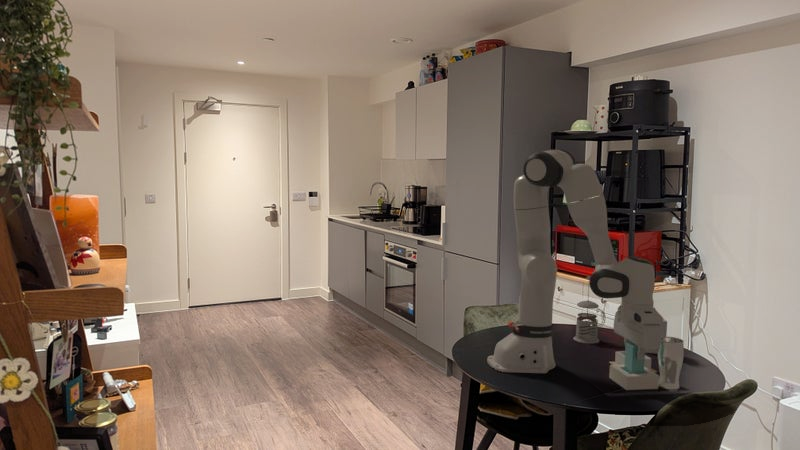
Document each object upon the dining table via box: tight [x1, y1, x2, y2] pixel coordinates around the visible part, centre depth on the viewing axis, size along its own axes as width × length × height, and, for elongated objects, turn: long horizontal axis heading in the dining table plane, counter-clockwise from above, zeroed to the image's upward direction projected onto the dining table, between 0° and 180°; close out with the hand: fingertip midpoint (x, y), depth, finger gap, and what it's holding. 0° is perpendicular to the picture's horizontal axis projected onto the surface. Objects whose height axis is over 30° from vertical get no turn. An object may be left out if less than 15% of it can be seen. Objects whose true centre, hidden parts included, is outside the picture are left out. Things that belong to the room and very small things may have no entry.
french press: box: [573, 276, 606, 344], centre depth 215 cm, size 10×12×25 cm
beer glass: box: [657, 336, 685, 393], centre depth 167 cm, size 7×7×15 cm
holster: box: [608, 350, 658, 373], centre depth 184 cm, size 11×11×5 cm
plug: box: [624, 342, 646, 374], centre depth 168 cm, size 4×4×10 cm
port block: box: [608, 364, 660, 394], centre depth 169 cm, size 10×10×5 cm
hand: (634, 356), depth 168 cm, fingers closed on plug, 4 cm apart
